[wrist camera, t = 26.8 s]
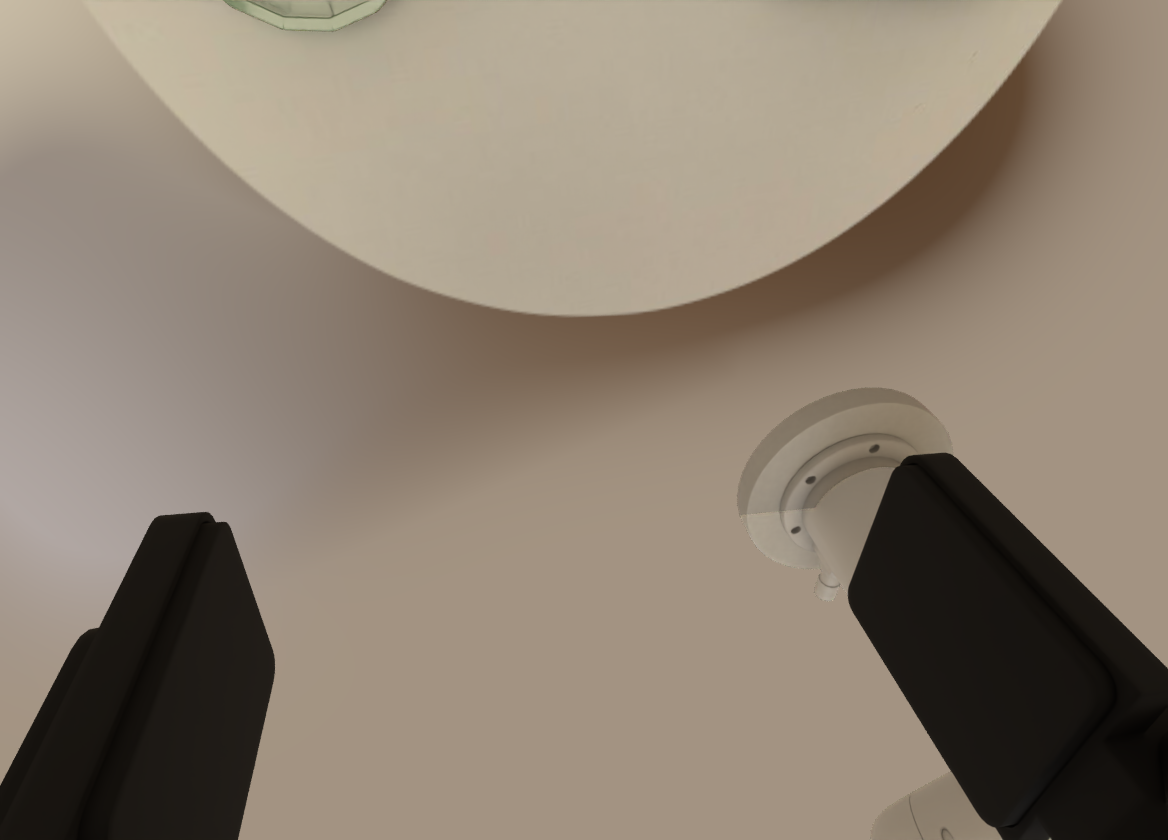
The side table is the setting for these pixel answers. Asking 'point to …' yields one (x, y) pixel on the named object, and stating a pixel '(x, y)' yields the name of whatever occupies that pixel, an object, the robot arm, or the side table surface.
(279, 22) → the dish
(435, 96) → the side table surface
